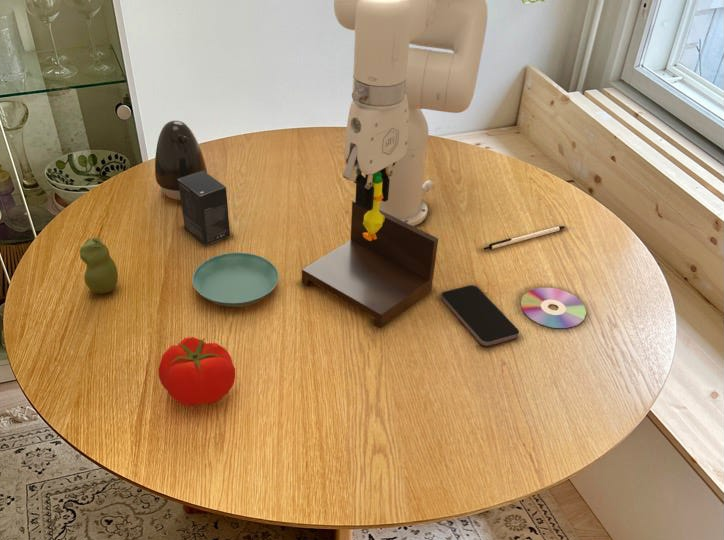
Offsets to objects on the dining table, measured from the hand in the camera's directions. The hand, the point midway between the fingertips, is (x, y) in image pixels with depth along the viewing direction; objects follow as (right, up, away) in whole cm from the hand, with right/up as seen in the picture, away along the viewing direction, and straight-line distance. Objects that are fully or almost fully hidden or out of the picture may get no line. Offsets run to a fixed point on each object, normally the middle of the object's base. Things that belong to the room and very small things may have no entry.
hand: (371, 201), depth 120 cm
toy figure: (0, -5, +5) cm, 7 cm away
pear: (-46, -13, +9) cm, 48 cm away
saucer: (-23, -13, +11) cm, 28 cm away
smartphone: (+18, -18, +7) cm, 27 cm away
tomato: (-26, -31, -8) cm, 41 cm away
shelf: (-1, -12, +12) cm, 17 cm away
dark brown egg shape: (-37, +9, +33) cm, 50 cm away
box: (-31, -1, +23) cm, 38 cm away
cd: (+32, -16, +10) cm, 37 cm away
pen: (+30, -1, +25) cm, 39 cm away
